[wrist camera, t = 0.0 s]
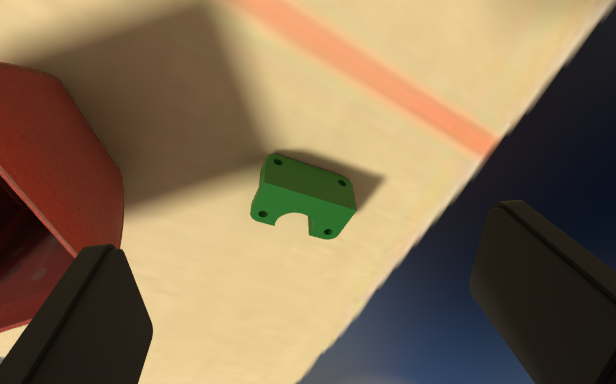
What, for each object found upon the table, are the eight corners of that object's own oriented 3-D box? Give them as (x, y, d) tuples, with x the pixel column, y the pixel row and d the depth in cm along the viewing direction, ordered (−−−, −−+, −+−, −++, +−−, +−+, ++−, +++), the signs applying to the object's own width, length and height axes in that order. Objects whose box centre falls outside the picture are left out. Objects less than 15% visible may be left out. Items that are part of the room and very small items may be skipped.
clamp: (267, 173, 47) (234, 210, 40) (283, 140, 43) (249, 173, 36) (342, 220, 47) (322, 265, 40) (365, 189, 43) (347, 233, 36)
